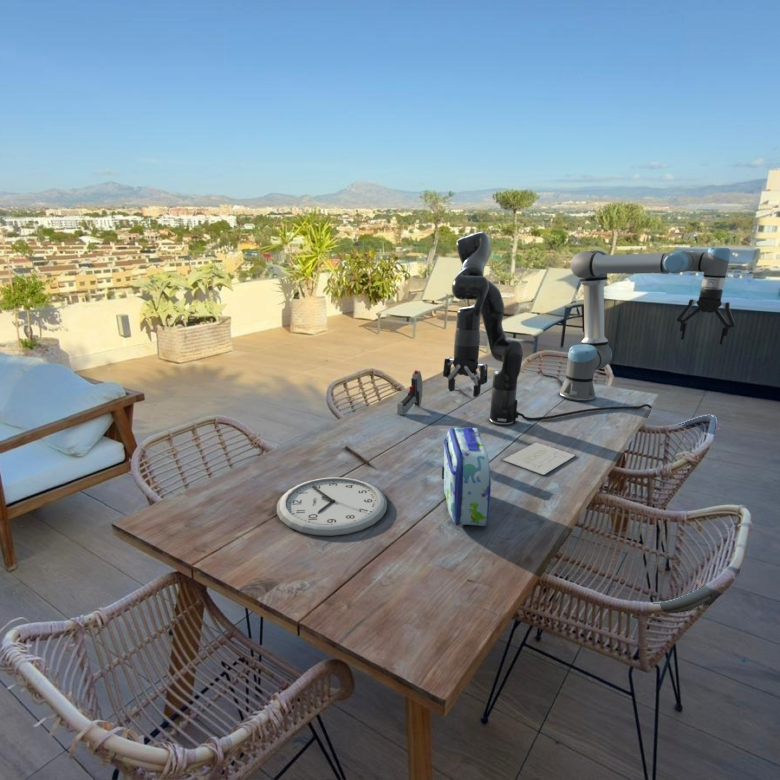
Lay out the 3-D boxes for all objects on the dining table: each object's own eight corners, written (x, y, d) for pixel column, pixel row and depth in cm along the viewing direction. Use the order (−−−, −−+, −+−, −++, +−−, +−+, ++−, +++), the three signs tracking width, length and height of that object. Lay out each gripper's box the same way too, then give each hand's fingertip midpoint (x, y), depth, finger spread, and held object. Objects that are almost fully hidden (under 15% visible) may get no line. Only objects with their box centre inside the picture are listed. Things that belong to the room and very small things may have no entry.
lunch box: (439, 484, 155) (443, 418, 149) (476, 485, 155) (480, 418, 149) (448, 533, 130) (452, 456, 124) (491, 534, 130) (497, 457, 124)
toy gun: (396, 378, 207) (417, 368, 219) (397, 416, 213) (418, 404, 224) (401, 379, 206) (422, 369, 217) (402, 417, 212) (422, 405, 223)
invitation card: (535, 442, 186) (575, 454, 176) (535, 442, 187) (575, 455, 176) (502, 459, 172) (543, 474, 162) (502, 460, 172) (543, 475, 162)
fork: (463, 397, 236) (463, 392, 235) (450, 386, 250) (450, 382, 250) (468, 396, 236) (469, 392, 236) (455, 386, 251) (455, 382, 250)
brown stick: (344, 448, 179) (344, 445, 179) (346, 448, 179) (346, 445, 179) (367, 464, 167) (367, 462, 167) (368, 464, 167) (368, 461, 167)
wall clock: (392, 527, 129) (268, 531, 127) (391, 533, 130) (269, 537, 127) (383, 473, 158) (282, 475, 155) (383, 478, 158) (282, 480, 156)
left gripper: (440, 341, 160) (438, 391, 165) (482, 348, 151) (478, 401, 156) (452, 337, 165) (450, 386, 170) (493, 344, 157) (489, 395, 162)
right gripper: (674, 286, 209) (665, 338, 215) (749, 291, 195) (736, 347, 201) (678, 285, 215) (669, 335, 221) (750, 290, 200) (738, 344, 207)
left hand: (463, 393), depth 163 cm, fingers open, 8 cm apart
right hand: (701, 341), depth 211 cm, fingers open, 13 cm apart
